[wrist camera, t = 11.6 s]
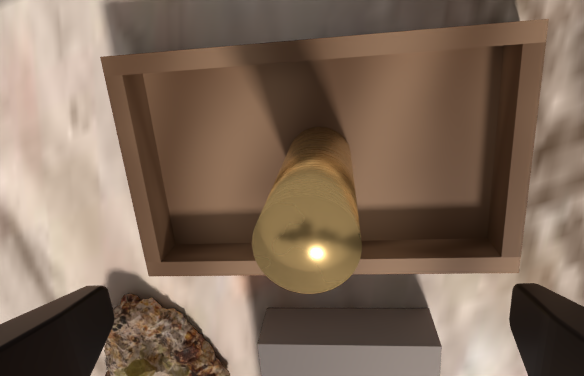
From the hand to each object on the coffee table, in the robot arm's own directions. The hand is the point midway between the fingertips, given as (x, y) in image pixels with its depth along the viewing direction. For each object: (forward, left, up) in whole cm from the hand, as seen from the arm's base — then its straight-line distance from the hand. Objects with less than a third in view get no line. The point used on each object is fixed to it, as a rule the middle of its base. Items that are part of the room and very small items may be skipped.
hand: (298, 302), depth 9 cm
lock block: (-1, +13, -12) cm, 18 cm away
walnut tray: (0, 0, -12) cm, 12 cm away
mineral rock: (+10, +13, -12) cm, 21 cm away
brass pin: (0, 0, -11) cm, 11 cm away
